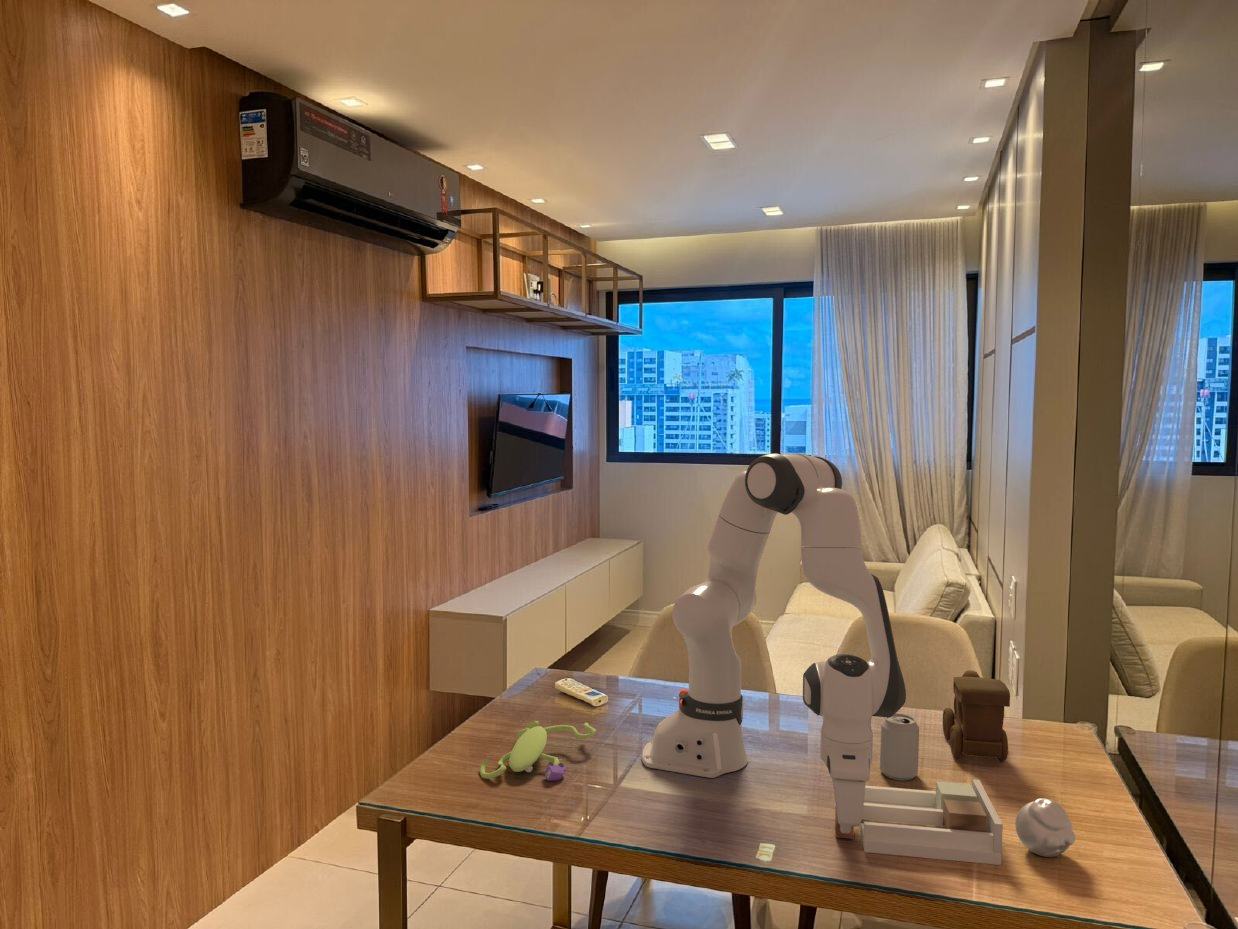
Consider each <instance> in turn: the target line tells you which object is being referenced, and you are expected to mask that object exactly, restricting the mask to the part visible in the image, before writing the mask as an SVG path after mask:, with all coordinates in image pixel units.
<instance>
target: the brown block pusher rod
mask: <svg viewBox="0 0 1238 929" xmlns="http://www.w3.org/2000/svg"><path fill="white" fill-rule="evenodd" d="M834 810H835V811H834V814H835V815H834V818H835V819H834V832H835V834H834V835H835V838H840V839H841V838H842V839H854V831H855V830H854V829H855V828H854V827H855V826H851V832H850V833H842V832H841V831H840V824H839V823H838V819H837V810H836V805H835V808H834ZM986 817H987V816H986V814H985V812H984V810H983V808H982V806H981V804H980V802H971V801H959V800H947V799H944V802H943V826H934V825H922V824H911V823H900V822H888V821H877V820H866V819H862V820H861V823H863V824H864V822H874V823H885V824H897V825H908V826H919V827H931V828H942V829H953V830H964V831H976V832H986Z"/></svg>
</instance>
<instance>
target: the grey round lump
mask: <svg viewBox="0 0 1238 929" xmlns="http://www.w3.org/2000/svg"><path fill="white" fill-rule="evenodd" d="M1014 824H1015V832H1016V834H1017V837H1018V839H1019V841H1020V842H1021V844H1023V846H1024V847H1025V848H1027V849H1028V850H1029V851H1030V852H1032V853H1033V854H1035V855H1038V856H1039V857H1040V856H1041V857H1045V858H1047V857H1048V858H1053V857H1057V856H1060V855H1062V854H1063V853H1065V852H1066V851H1067V850H1068V849H1069V848H1070V846H1072V845H1074V844H1075V842H1076V834H1075V832H1074V829H1073V825H1072V822H1071V820H1070V818H1069V814H1067V812H1066V811H1065V809H1064V808H1063V806H1062V805H1061V804H1059V802H1057V801H1055V800H1053V799H1050V798H1044V797H1043V798H1037V799H1036V800H1033V801H1030V802H1028V803H1025V804H1024V805H1023V806H1022V807H1020V809H1019V810H1018V812H1017V814H1016V817H1015V823H1014Z"/></svg>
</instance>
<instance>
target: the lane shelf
mask: <svg viewBox="0 0 1238 929" xmlns="http://www.w3.org/2000/svg"><path fill="white" fill-rule="evenodd" d="M971 781H972V782H971V783H972V784H971V786H972V788H973V790H974V792H975V794H976V796H977V802H980V804H981V806H982V808H983V810H984V812H985V814H986V816H987V817H986V832H976V831H964V830H953V829H942V828H931V827H919V826H908V825H897V824H885V823H874V822H864V824H863V823H860V825H859V826H858V827H859V830H860V831H859V832H860V836H861V841H862V847H863V852H864V853H870V854H879V855H880V854H881V855H892V856H902V857H910V858H911V857H913V858H923V859H924V858H925V859H932V860H933V859H934V860H942V861H943V860H944V861H954V862H955V861H957V862H966V863H975V864H986V865H997V866H1002V856H1003V853H1002V852H1003V826H1004V825H1003V823H1002V820H1001V818H1000V816H999V815H998V813H997V811H996V809H995V807H994V805H993V803H992V801H991V800H990V798H989V796H988V794H987V792H986V790H985V788H984V786H983V785H982V782H981V779H975V778H974V779H973V778H972V779H971ZM935 803H936V790H927V789H926V790H925V789H924V790H923V789H911V788H902V787H901V788H899V787H891V786H889V787H888V786H877V785H876V786H874V785H865V796H864V805H863V814H862V819H866V820H877V821H888V822H900V823H911V824H922V825H934V826H943V809H936V808H935Z"/></svg>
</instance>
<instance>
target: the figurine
mask: <svg viewBox="0 0 1238 929" xmlns="http://www.w3.org/2000/svg"><path fill="white" fill-rule="evenodd" d="M539 725H540V722H539V720H533V721H532V722H529V723H528V724H527V725H526V726H525V727H524V728H522V729H520V730H518V732H517V734H516V736H517V738H518V739H517V741H516V742H515V743H514V745H513V747H512V750H510V751H509V752H508V753H505V754H504V755H503V756H502V757H501V758H500V759H499V761H498V762H497V764H498V766H500V767H499V768H498V769H496V770H493V771H492V772H486V768H487V766H488V763H489V761H488V760H487V759H483V761H481V764H480V766H479V775H480V777H481V778H483V779H484V780H491V779H494V778H496V777H499V776H501V775H502V774H503V773H504V772H505V771H506V770H507V766H505V763H506V762H507V761H508V763H509V767H510V769H511V770H512V771H513V772H514V773H519V772H523V771H525V772H527V773H532V771H533V765H534V764H535V763H536V762H537V760H538V759H541V760H544V761H549V762H548V764H547V766H546V768H545V770H544V771H543V774H544V775H545V777H546V779H547V781H548V782H549V781H550V782H551V781H559V780H562V778H563V777H564V774H565V772H566V771H567V770H568V769H567V766H565V765H564V763H562V762H560V760H559V758H558V757H557V756H554V755H549V754H545V753H543V751H544V748H545V746H546V744H547V740H548V739H547V738H548V735H547V734H548V733H551V732H558V731H568V732H571V733H572V734H573V736H574V737H575V738H576V739H578V740H586V739H589V738H591V737H593V736H595V734H596V732H597V729H596V728H594V727H592V726H590V725H589V723H588V722H584V723H583V728H584V730H587V732H590V733H585V734H583V733H580V732H578V730H577V729H576V727H575V726H573V725H567V724H557V725H552V726H550V725H549V726H546V727H543V726H541V725H540V726H539Z"/></svg>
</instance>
